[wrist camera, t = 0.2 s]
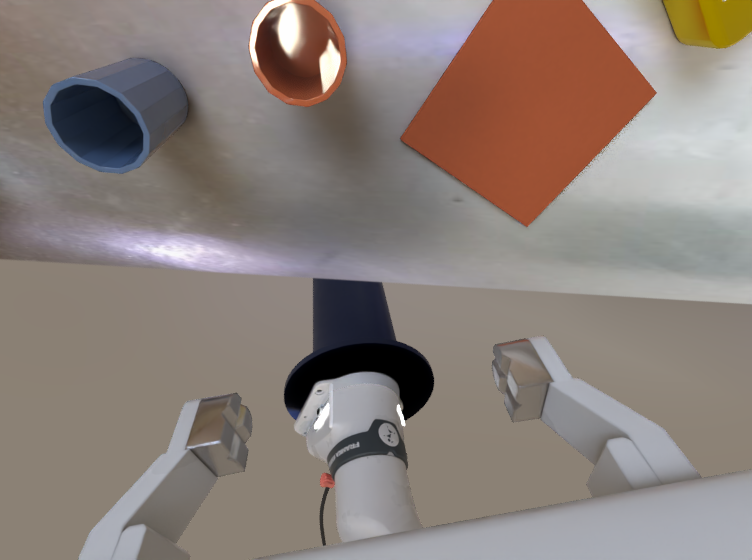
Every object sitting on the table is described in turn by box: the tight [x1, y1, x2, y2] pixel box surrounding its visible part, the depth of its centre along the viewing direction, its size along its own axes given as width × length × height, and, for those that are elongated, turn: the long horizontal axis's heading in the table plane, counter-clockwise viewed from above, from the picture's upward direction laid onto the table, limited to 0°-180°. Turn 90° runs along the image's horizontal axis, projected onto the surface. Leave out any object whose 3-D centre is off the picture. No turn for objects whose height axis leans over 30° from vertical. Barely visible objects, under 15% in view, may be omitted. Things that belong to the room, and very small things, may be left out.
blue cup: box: [43, 58, 188, 174], centre depth 28 cm, size 6×6×10 cm
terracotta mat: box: [400, 0, 656, 227], centre depth 37 cm, size 18×20×1 cm
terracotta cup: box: [249, 0, 347, 107], centre depth 27 cm, size 6×6×10 cm
